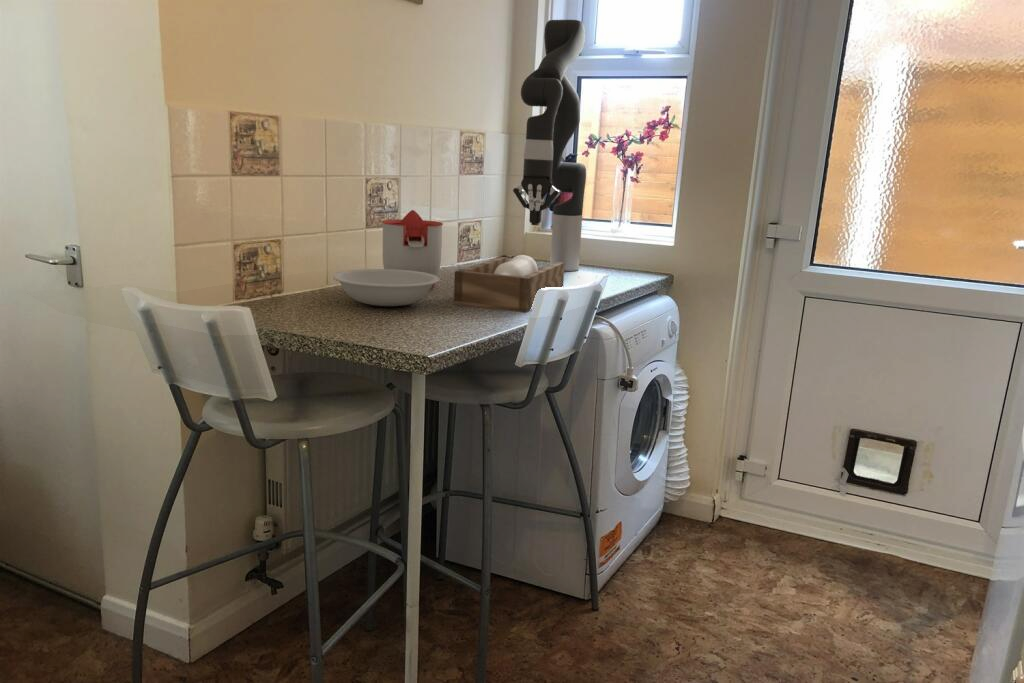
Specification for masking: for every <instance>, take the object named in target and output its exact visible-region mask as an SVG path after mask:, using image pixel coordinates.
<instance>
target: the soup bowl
mask: <svg viewBox="0 0 1024 683" xmlns="http://www.w3.org/2000/svg"><path fill="white" fill-rule="evenodd" d="M332 278H333V280H335V281H337V282H339V283H340V285H341V288H342V289H343V290H344V292H345V293H346V294H347V295H348V296H350V298H352V299H353V300H355V301H357V302H359V303H362V304H365V305H369V306H378V307H399V306H407V305H411V304H414V303H417V302H418V301H420V300H422V298H424V297H425V296H426V295H427V294H428V293H429V291H431V289H432V288H431V287H432V285H433V284H435V285H436V284H437V283H439V282H440V277H439V276H435V275H432V274H428V273H423V272H417V271H409V270H395V269H384V268H368V269H367V268H364V269H349V270H345V271H340V272H336V273H334V274H333V275H332Z"/></svg>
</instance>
